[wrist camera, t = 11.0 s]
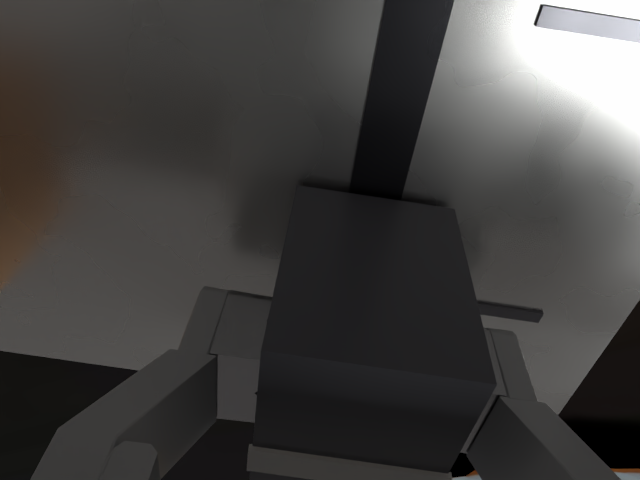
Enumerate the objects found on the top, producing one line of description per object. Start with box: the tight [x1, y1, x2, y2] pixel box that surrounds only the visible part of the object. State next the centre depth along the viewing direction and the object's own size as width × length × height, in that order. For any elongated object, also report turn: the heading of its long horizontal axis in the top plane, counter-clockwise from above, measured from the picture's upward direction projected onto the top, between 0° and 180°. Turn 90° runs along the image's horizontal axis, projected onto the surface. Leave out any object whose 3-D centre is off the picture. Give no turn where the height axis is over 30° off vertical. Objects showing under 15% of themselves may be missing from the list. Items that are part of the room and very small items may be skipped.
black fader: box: [247, 185, 497, 480], centre depth 10 cm, size 5×3×4 cm, turn 173°
